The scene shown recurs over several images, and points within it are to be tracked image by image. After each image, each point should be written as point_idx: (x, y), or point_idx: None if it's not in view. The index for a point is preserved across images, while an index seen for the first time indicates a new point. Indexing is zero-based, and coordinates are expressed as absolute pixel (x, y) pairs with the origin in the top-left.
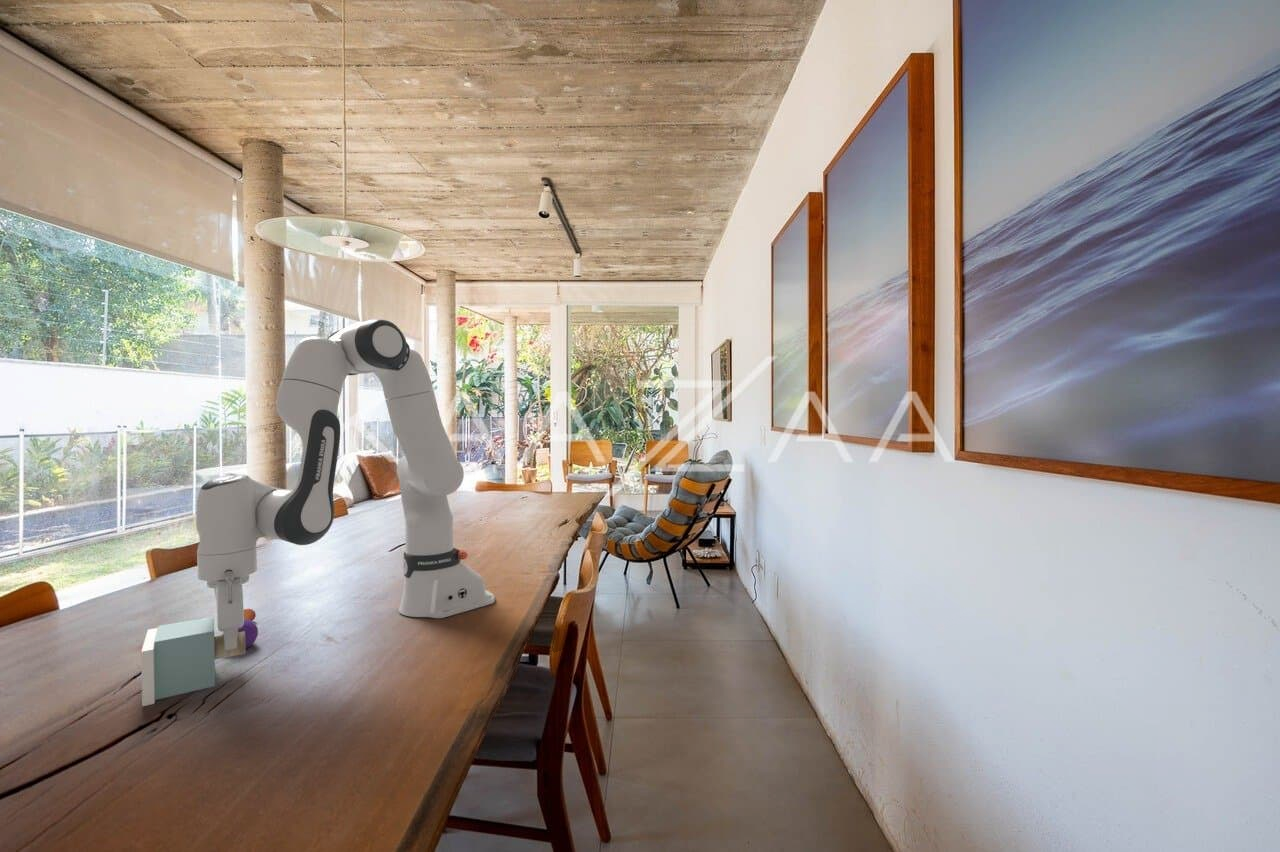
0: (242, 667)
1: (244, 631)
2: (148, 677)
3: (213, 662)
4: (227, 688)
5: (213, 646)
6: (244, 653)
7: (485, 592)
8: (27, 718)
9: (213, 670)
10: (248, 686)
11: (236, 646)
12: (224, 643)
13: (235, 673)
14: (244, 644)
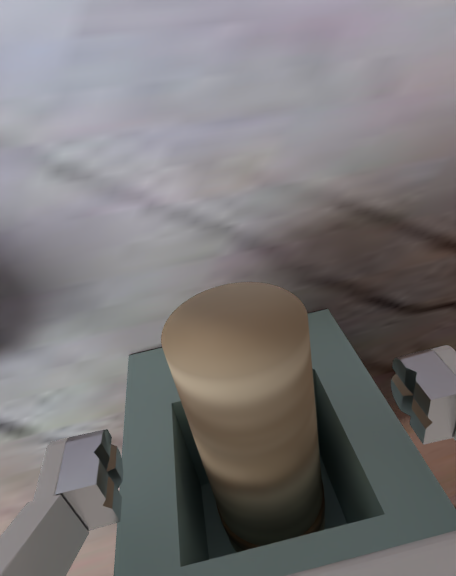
0: (168, 258)
1: (241, 378)
2: None
3: (371, 379)
4: (377, 264)
5: (412, 445)
6: (255, 285)
7: None
8: None
9: (355, 353)
10: (413, 191)
11: (452, 348)
12: (312, 413)
13: (230, 270)
14: (305, 316)
